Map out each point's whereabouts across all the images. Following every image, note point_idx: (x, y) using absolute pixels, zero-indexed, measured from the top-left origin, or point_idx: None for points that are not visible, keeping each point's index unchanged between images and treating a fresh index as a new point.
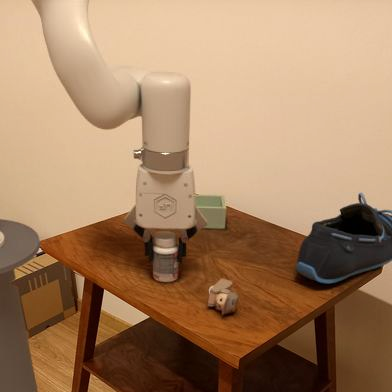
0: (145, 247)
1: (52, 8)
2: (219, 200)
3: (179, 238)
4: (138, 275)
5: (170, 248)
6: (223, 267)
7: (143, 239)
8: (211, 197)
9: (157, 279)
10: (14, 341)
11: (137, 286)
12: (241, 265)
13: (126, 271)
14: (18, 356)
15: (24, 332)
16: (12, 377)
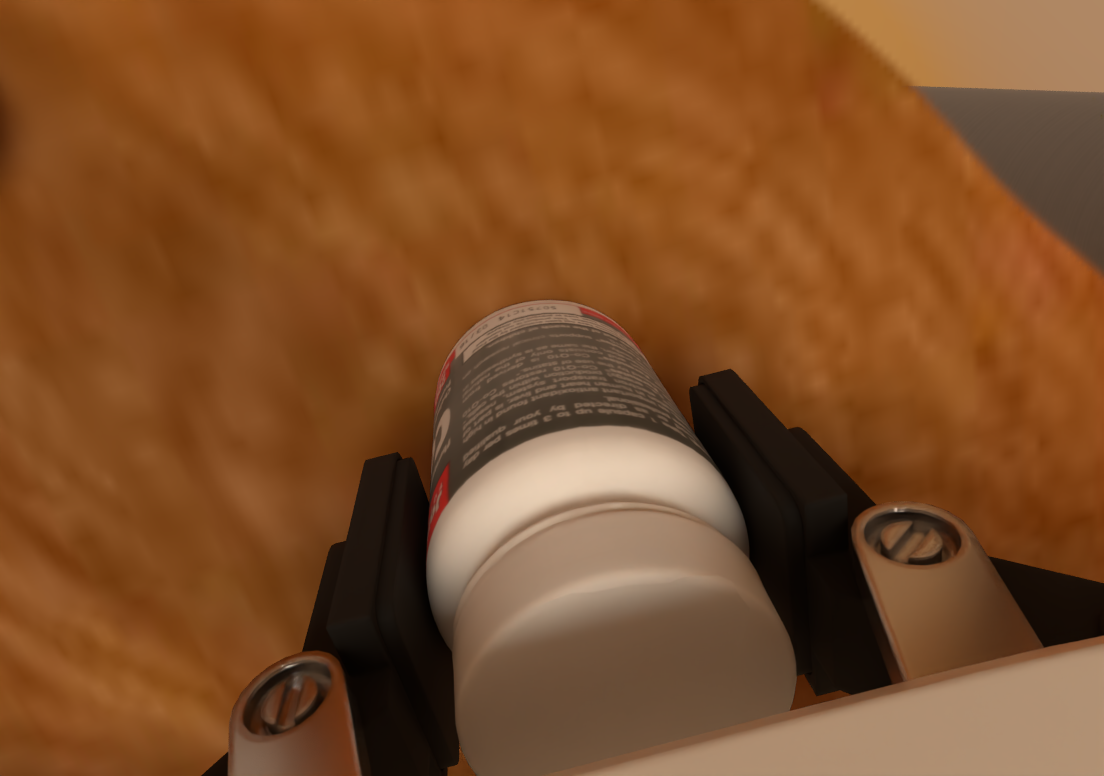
0: (837, 478)
1: None
2: None
3: (436, 746)
4: (764, 354)
5: (505, 529)
6: (141, 661)
7: (937, 527)
8: None
9: (593, 311)
10: None
11: (743, 170)
12: (18, 726)
13: (865, 385)
14: (1058, 178)
15: (1089, 258)
16: (1029, 133)
